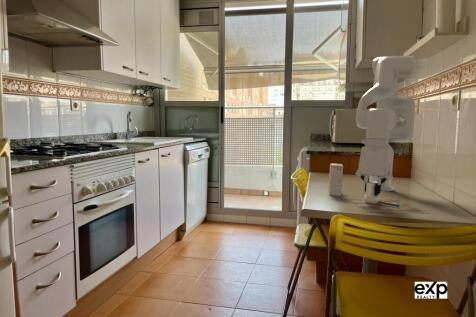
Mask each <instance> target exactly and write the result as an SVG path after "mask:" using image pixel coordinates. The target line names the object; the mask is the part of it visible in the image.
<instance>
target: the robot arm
mask: <svg viewBox="0 0 476 317" xmlns="http://www.w3.org/2000/svg"><path fill="white" fill-rule="evenodd" d="M417 64H418V62H417V58H416V57H415V56H414V55H387V56H384V55H383V56H379V57H376V58H374V59H373V60H372V64H371V65H372V66H371V68H372V72H373V75H374V79H373V85H372V86H373V87H371V88H370V89H369V90H367V91H365V93H364V94H363V95H362V96H361V98H360V99H359V102H358V105H357V108H356V115H355V123H356V126H357V127H358V128H359V129H363V130H364V129H365V130H366V131H365V138H364V139H361V142H360V143H361V144H363V145H364V146H362V148H361V150H360V156H359V161H358V169H357V170H356V172H355V176H357V177H359V178H360V179H361V180H362V181H363V183H364V192H365V193H366V186H367V183H368V182H372V181H377V185H376V187H375V196H380V194H381V192H393V191H394V190H395V187H394V186H392V180H393V178H394V177H393V166H394V164H393V163H394V156H395V155H394V152H395V151H394V148H393V147H392V146H391V145H390V143H404V144H405V143H410V142H411V141H412V140H413V137H414V130H415V129H414V127H415V126H414V125H415V116H416V115H415V113H416V102H415V99H414V98H413V97H412V96H411V97H410V96H399V95H398V94H399V83H398V79H412V78H413V77H414V76H415V74H416V72H417V67H418V66H417ZM374 103H376V108H368V107H369V106H370V105H372V104H374ZM398 119H401V120H402V121H401V120H398Z"/></svg>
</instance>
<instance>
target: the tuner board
mask: <svg viewBox="0 0 476 317" xmlns="http://www.w3.org/2000/svg"><path fill="white" fill-rule="evenodd" d="M343 198H344V199H346V200H348V201H350V202H351V203H353V204H354V205H357V206H359V207H360V208H362V209H363V210H365V211H367V212H369V213H372V214H373V213H374V214H375V213H378V214H379V213H380V214H415V215H416V214H420V215H423V214H424V215H428V214H430V213H429V212H427V211H425V210H422V209H420V208H417V207H414V206H412V205H409V204H408V203H405V202H402V201H400V200H398V199H395V198H394V197H380V199H379V201H381V202H387V203H392V204H398V205H400V206H399V207H396V206H391V205H385V204H380V203H379V204H368V203H365V202H364V201H365V196H343Z"/></svg>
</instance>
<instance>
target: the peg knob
mask: <svg viewBox="0 0 476 317" xmlns="http://www.w3.org/2000/svg"><path fill="white" fill-rule="evenodd" d="M376 185H377V181H372V182H368V183H367V186H366V192H365V194H364V197H365V201H364V202H365V203H368V204H379V203H380V204H385V205H391V206H396V207H399V206H400V205H398V204H392V203H387V202H381V201H379V199H380V198H381V197H380V195H378V196H375V187H376Z"/></svg>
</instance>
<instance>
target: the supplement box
mask: <svg viewBox="0 0 476 317" xmlns="http://www.w3.org/2000/svg"><path fill="white" fill-rule="evenodd" d="M343 171H344V165H343V164H342V163H333V162H332V163H330V164H329V174H328V176H329V178H328V191H327V192H328V196H339V197H342V185H343V173H344V172H343Z"/></svg>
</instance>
